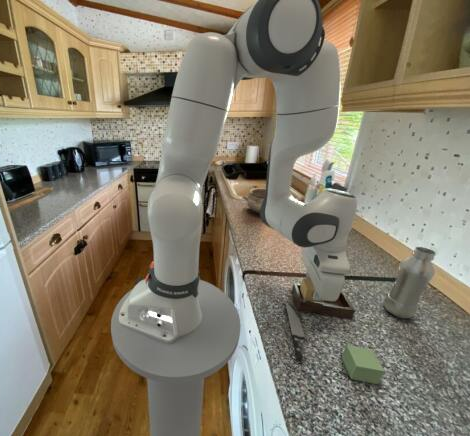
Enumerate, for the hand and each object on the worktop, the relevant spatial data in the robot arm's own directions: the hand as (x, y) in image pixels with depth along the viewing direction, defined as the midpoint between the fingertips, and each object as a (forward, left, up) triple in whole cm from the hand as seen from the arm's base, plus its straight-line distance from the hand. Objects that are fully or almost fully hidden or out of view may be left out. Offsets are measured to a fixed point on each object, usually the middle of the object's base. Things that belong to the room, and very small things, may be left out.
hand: (312, 291), depth 69 cm
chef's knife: (-6, -11, -4) cm, 13 cm away
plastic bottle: (+23, +1, -4) cm, 23 cm away
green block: (+5, -20, -4) cm, 21 cm away
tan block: (0, 0, -2) cm, 2 cm away
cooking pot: (-6, +71, -4) cm, 71 cm away
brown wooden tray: (+3, 0, -4) cm, 5 cm away
